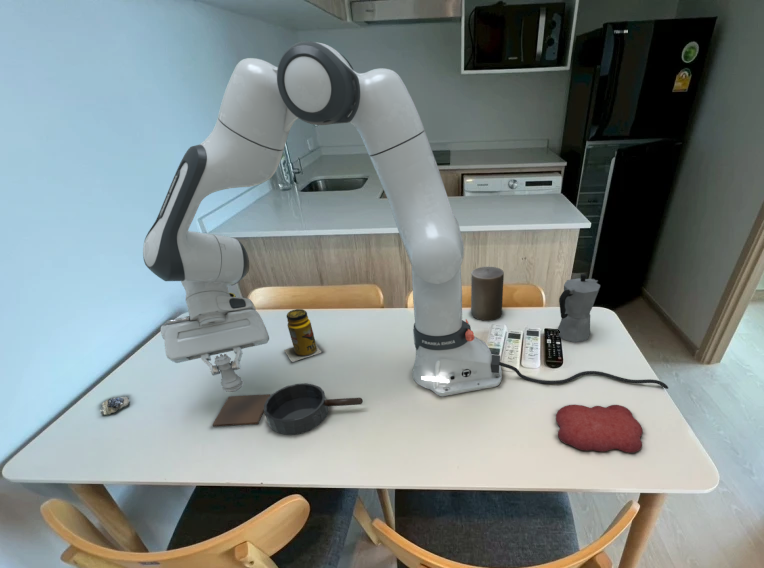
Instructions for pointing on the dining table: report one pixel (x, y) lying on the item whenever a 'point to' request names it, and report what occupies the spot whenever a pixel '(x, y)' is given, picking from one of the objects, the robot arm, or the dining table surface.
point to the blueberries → (113, 405)
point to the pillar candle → (487, 293)
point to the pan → (296, 409)
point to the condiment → (300, 336)
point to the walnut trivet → (241, 410)
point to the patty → (599, 428)
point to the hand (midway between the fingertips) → (226, 371)
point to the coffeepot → (577, 308)
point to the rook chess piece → (228, 374)
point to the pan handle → (343, 401)
